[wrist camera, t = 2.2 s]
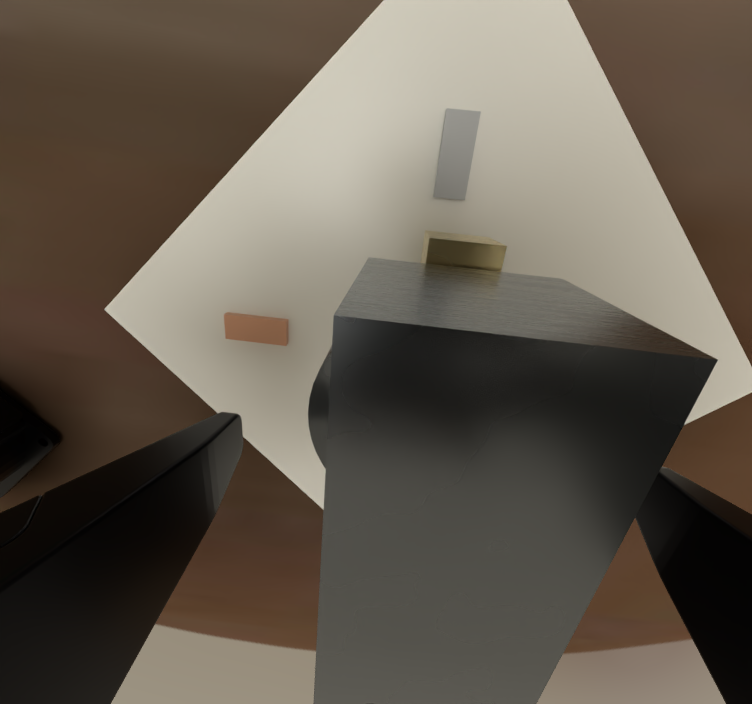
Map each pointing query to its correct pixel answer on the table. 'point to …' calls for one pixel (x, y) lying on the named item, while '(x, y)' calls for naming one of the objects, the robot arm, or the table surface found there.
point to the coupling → (478, 471)
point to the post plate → (418, 209)
